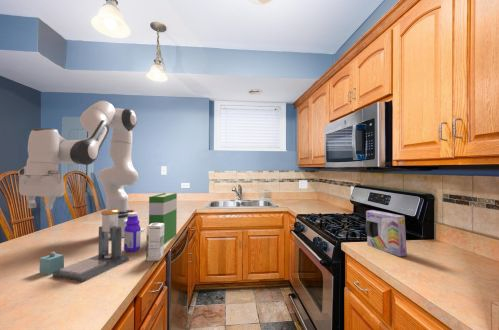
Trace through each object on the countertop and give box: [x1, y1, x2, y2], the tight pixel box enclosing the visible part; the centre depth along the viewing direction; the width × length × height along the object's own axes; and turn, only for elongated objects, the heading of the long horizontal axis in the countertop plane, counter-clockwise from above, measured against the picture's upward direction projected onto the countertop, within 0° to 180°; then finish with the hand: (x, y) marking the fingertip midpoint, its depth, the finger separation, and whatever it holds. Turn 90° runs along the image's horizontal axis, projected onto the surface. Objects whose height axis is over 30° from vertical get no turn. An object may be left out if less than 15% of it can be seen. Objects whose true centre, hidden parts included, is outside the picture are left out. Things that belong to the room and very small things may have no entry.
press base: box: [52, 225, 130, 283], centre depth 90 cm, size 20×14×14 cm
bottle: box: [123, 211, 142, 253], centre depth 110 cm, size 7×6×17 cm
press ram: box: [100, 209, 119, 242], centre depth 97 cm, size 6×6×12 cm
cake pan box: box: [365, 209, 408, 257], centre depth 111 cm, size 19×5×18 cm, turn 18°
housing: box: [39, 251, 65, 276], centre depth 87 cm, size 5×5×7 cm
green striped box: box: [148, 192, 178, 245], centre depth 127 cm, size 18×7×24 cm, turn 176°
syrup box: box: [145, 223, 165, 262], centre depth 100 cm, size 6×6×14 cm
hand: (40, 208), depth 86 cm, fingers open, 8 cm apart
